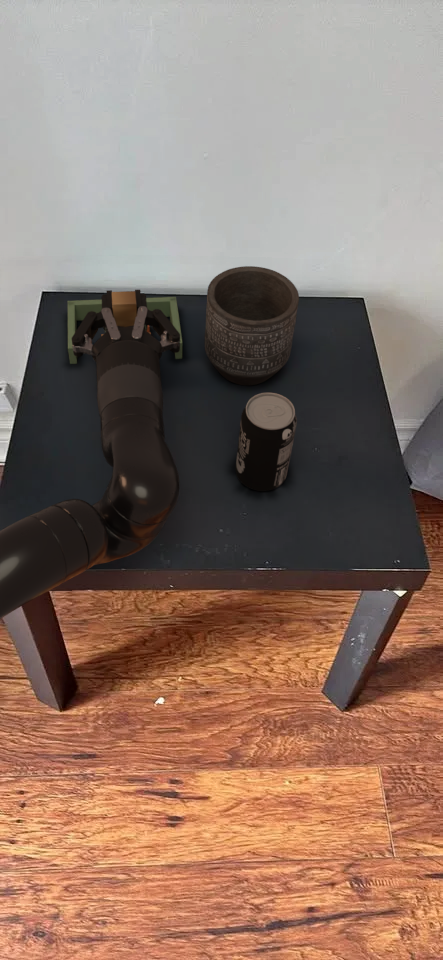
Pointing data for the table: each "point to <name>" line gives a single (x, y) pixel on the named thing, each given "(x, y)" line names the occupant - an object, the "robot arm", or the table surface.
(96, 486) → the table surface
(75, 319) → the corral
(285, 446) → the beverage can
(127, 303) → the stamp
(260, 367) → the planter
